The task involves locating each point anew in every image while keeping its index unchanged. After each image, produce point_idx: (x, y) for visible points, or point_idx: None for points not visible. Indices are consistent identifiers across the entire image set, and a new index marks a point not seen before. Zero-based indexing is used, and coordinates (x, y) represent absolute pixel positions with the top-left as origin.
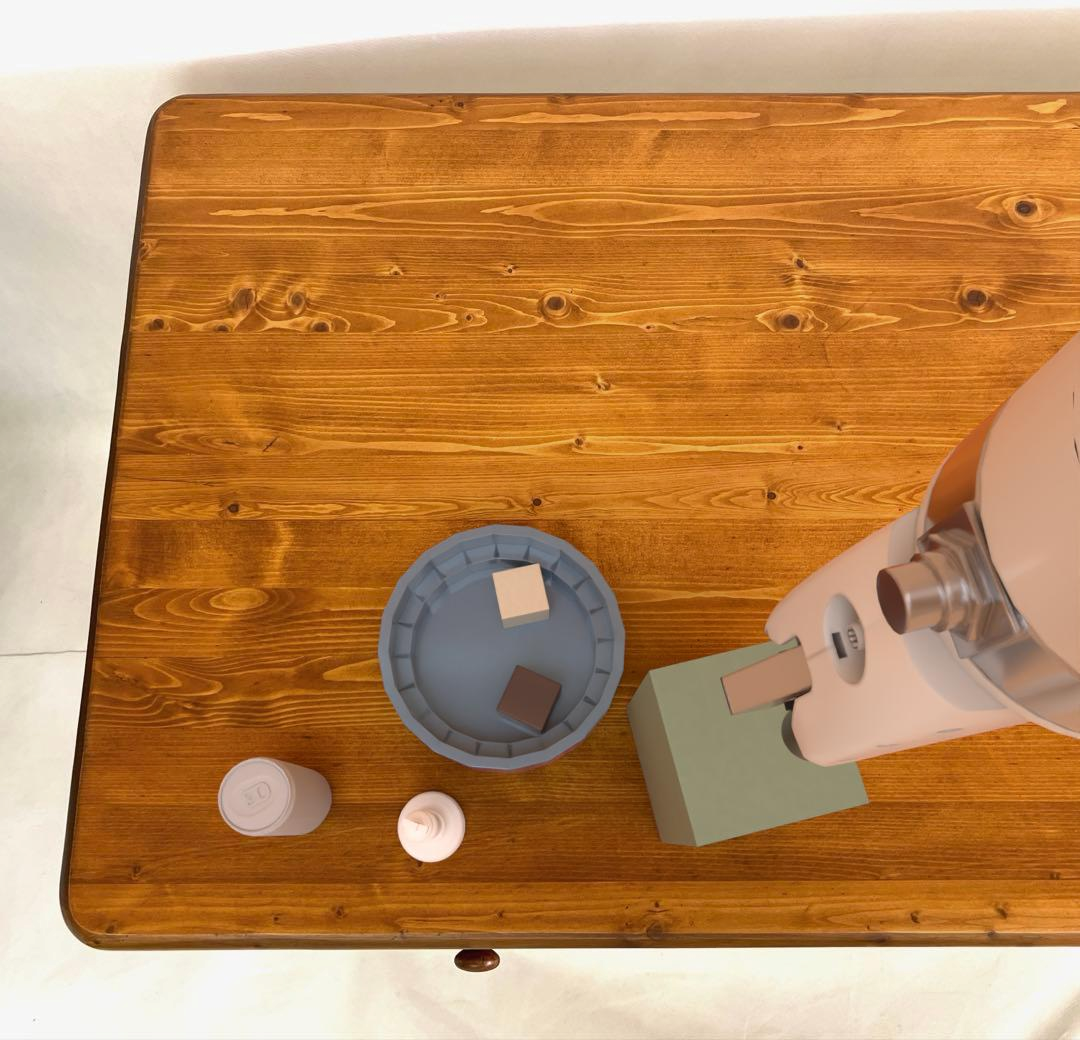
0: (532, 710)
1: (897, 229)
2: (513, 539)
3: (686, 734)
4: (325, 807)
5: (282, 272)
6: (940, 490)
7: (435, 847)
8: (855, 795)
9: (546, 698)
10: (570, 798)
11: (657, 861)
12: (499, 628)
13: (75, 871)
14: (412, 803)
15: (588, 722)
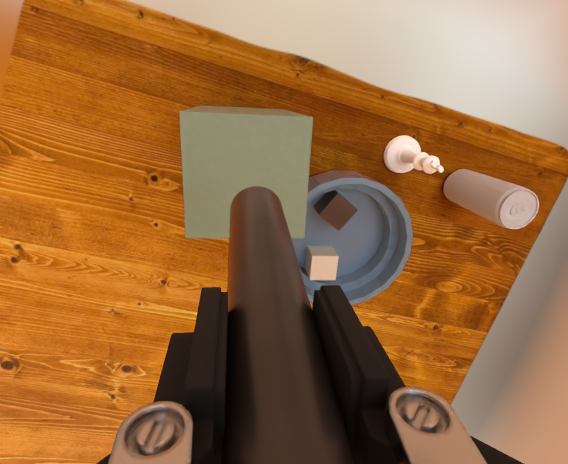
0: (339, 205)
1: (48, 407)
2: None
3: (294, 192)
4: (453, 180)
5: None
6: None
7: (406, 143)
8: (188, 119)
9: (329, 209)
10: (325, 148)
11: (289, 99)
12: (334, 246)
13: (565, 180)
14: (408, 169)
15: (314, 192)
